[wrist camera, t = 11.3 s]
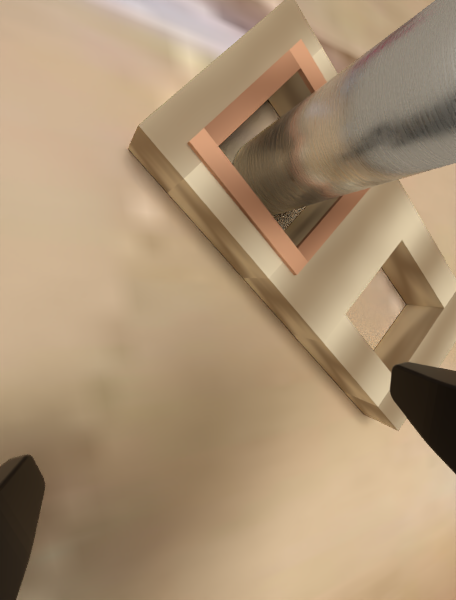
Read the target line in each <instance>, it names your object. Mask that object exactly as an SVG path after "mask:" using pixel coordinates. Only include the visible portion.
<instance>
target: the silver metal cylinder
mask: <svg viewBox="0 0 456 600" xmlns="http://www.w3.org/2000/svg"><path fill="white" fill-rule="evenodd" d="M453 163H456V0H435V1H434V2H433V3H431V4H430V5H429V6H427V7H426V8H425V9H423V10H422V11H421V12H419V13H418V14H417V15H416V16H414V17H413V18H412V19H410V20H409V21H408V22H406V23H405V24H404V25H402V26H401V27H400V28H398V29H397V30H396V31H394V32H393V33H392V34H390V35H389V36H388V37H386V38H385V39H384V40H382V41H381V42H380V43H378V44H377V45H376V46H374V47H373V48H372V49H370V50H369V51H368V52H366V53H365V54H364V55H362V56H361V57H360V58H358V59H357V60H356V61H355V62H353V63H352V64H351V65H349V66H348V67H347V68H345V69H344V70H343V71H341V72H340V73H339V74H337V75H336V76H335V77H333V78H332V79H331V80H329V81H328V82H327V83H325V84H324V85H323V86H321V87H320V88H319V89H317V90H316V91H315V92H313V93H312V94H311V95H309V96H308V97H307V98H305V99H304V100H303V101H301V102H300V103H299V104H297V105H296V106H295V107H293V108H292V109H291V110H290V111H288V112H287V113H286V114H284V115H283V116H282V117H280V118H279V119H278V120H276V121H275V122H274V123H272V124H271V125H270V126H268V127H267V128H266V129H264V130H263V131H262V132H260V133H259V134H258V135H256V136H255V137H254V138H252V139H251V140H250V141H248V142H247V143H246V144H244V145H243V146H242V147H241V148H240V150H239V151H238V153H237V154H236V157H235V159H234V162H233V166H234V167H235V168H236V170H237V171H238V172H239V174H240V175H241V176H242V178H243V179H244V180H245V181H246V183H247V184H248V185H249V187H250V188H251V189H252V190H253V192H254V193H255V194H256V196H257V197H258V198H259V199H260V201H261V202H262V203H263V205H264V206H265V207H266V208H267V210H268V211H269V212H270V214H271V215H272V216H273V215H277V214H280V213H284V212H287V211H291V210H294V209H298V208H301V207H305V206H308V205H312V204H315V203H319V202H322V201H325V200H329V199H332V198H336V197H339V196H343V195H346V194H350V193H353V192H357V191H360V190H363V189H367V188H370V187H374V186H377V185H381V184H384V183H388V182H391V181H395V180H398V179H401V178H405V177H408V176H412V175H415V174H419V173H422V172H426V171H429V170H433V169H436V168H439V167H443V166H446V165H450V164H453Z"/></svg>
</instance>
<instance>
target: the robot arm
mask: <svg viewBox="0 0 456 600" xmlns="http://www.w3.org/2000/svg"><path fill="white" fill-rule="evenodd" d="M390 394H391V397H392V399H393V401H394V402H395V403H396V405H397V406H398V407H399V408H400V410H401V411H402V412H403V414H404V415H405V416H406V417H407V419H408V420H409V421H410V423H411V424H412V425H413V426H414V428H415V429H416V430H417V432H418V433H419V434H420V435H421V437H422V438H423V439H424V440H425V441H426V443H427V444H428V445H429V446H430V447H431V448H432V449H433V451H434V452H435V453H436V454H437V455H438V456H439V457H440V458H441V459H442V460H443V461H444V462H445V463H446V464H447V465H448V466H449V467H450V469H451V470H452V471H453V472H454V473H455V474H456V371H453V370H448V369H443V368H438V367H433V366H427V365H422V364H417V363H412V362H404V363H400V364H396V365H394V366H393V367H392V371H391V382H390ZM44 491H45V482H44V478H43V476H42V474H41V472H40V470H39V468H38V466H37V464H36V462H35V460H34V459H33V457H32V456H31V455H23V456H19V457H14V458H11V459H9V460H8V461H7V462H5V463H4V464H3V465H1V466H0V600H16V598H17V595H18V592H19V589H20V586H21V583H22V580H23V577H24V574H25V571H26V568H27V564H28V561H29V558H30V554H31V550H32V546H33V542H34V537H35V532H36V528H37V523H38V519H39V514H40V509H41V505H42V500H43V496H44Z"/></svg>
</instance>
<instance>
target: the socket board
mask: <svg viewBox="0 0 456 600" xmlns="http://www.w3.org/2000/svg"><path fill="white" fill-rule="evenodd" d="M336 75H337V72H336V70H335V69H334V67H333V65H332V64H331V62H330V60H329V58H328V57H327V55H326V53H325V51H324V50H323V48H322V46H321V44H320V43H319V41H318V39H317V38H316V36H315V34H314V32H313V31H312V29H311V27H310V25H309V24H308V22H307V20H306V19H305V17H304V15H303V13H302V12H301V10H300V8H299V6H298V5H297V3H296V1H295V0H284V1H283V2H282V3H281V4H280V5H279V6H277V7H276V8H275V9H274V10H273V11H272V12H270V13H269V14H268V15H267V16H266V17H265V18H263V19H262V20H261V21H260V22H259V23H258V24H256V25H255V26H254V27H253V28H252V29H250V30H249V31H248V32H247V33H246V34H245V35H243V36H242V37H241V38H240V39H239V40H238V41H236V42H235V43H234V44H233V45H232V46H231V47H229V48H228V49H227V50H226V51H225V52H224V53H222V54H221V55H220V56H219V57H218V58H217V59H215V60H214V61H213V62H212V63H211V64H209V65H208V66H207V67H206V68H205V69H204V70H202V71H201V72H200V73H199V74H198V75H197V76H195V77H194V78H193V79H192V80H191V81H190V82H188V83H187V84H186V85H185V86H184V87H183V88H181V89H180V90H179V91H178V92H177V93H176V94H174V95H173V96H172V97H171V98H170V99H168V100H167V101H166V102H165V103H164V104H163V105H161V106H160V107H159V108H158V109H157V110H156V111H154V112H153V113H152V114H151V115H150V116H149V117H147V118H146V119H145V120H144V121H143V122H142V123H140V124H139V125H138V127H137V129H136V132H135V134H134V136H133V139H132V141H131V143H130V145H129V148H128V149H129V150H130V151H131V152H132V154H133V155H134V156H135V157H136V158H137V159H138V160H139V161H140V163H141V164H142V165H143V166H144V167H145V168H146V169H147V170H148V172H149V173H150V174H151V175H152V176H153V177H154V178H155V180H156V181H157V182H158V183H159V184H160V185H161V186H162V187H163V189H164V190H165V191H166V192H167V193H168V194H169V195H170V196H171V198H172V199H173V200H174V201H175V202H176V203H177V204H178V205H179V207H180V208H181V209H182V210H183V211H184V212H185V213H186V214H187V216H188V217H189V218H190V219H191V220H192V221H193V222H194V223H195V225H196V226H197V227H198V228H199V229H200V230H201V231H202V232H203V234H204V235H205V236H206V237H207V238H208V239H209V240H210V241H211V243H212V244H213V245H214V246H215V247H216V248H217V249H218V250H219V252H220V253H221V254H222V255H223V256H224V257H225V258H226V259H227V261H228V262H229V263H230V264H231V265H232V266H233V267H234V268H235V270H236V271H237V272H238V273H239V274H240V275H241V276H242V277H243V279H244V280H245V281H246V282H247V283H248V284H249V285H250V286H251V288H252V289H253V290H254V291H255V292H256V293H257V294H258V295H259V297H260V298H261V299H262V300H263V301H264V302H265V303H266V304H267V306H268V307H269V308H270V309H271V310H272V311H273V312H274V313H275V315H276V316H277V317H278V318H279V319H280V320H281V321H282V322H283V324H284V325H285V326H286V327H287V328H288V329H289V330H290V331H291V333H292V334H293V335H294V336H295V337H296V338H297V339H298V340H299V342H300V343H301V344H302V345H303V346H304V347H305V348H306V349H307V351H308V352H309V353H310V354H311V355H312V356H313V357H314V358H315V360H316V361H317V362H318V363H319V364H320V365H321V366H322V367H323V369H324V370H325V371H326V372H327V373H328V374H329V375H330V376H331V378H332V379H333V380H334V381H335V382H336V383H337V384H338V386H339V387H340V388H341V389H342V390H343V391H344V392H345V393H346V395H347V396H348V397H349V398H350V399H351V400H352V401H353V402H354V404H355V405H356V406H357V407H358V408H359V409H360V410H361V411H362V413H363V414H365V415H367V416H369V417H371V418H373V419H375V420H377V421H379V422H381V423H383V424H385V425H387V426H389V427H391V428H393V429H396V430H398V431H399V430H400V428H401V426H402V425H403V423H404V422H405V420H406V419H407V417H406V416H405V415H404V414H403V412H402V411H401V410H400V408H399V407H398V406H397V405H396V403H395V402H394V401H393V399H392V397H391V394H390V382H391V371H392V367H393V366H394V365H396V364H400V363H404V362H412V363H417V364H422V365H427V366H433V367H438V368H439V367H440V365H441V364H442V362H443V361H444V359H445V358H446V356H447V355H448V353H449V351H450V350H451V348H452V347H453V345H454V344H455V342H456V278H455V276H454V274H453V273H452V271H451V269H450V268H449V266H448V264H447V262H446V261H445V259H444V257H443V255H442V254H441V252H440V250H439V249H438V247H437V245H436V243H435V242H434V240H433V238H432V236H431V235H430V233H429V231H428V230H427V228H426V226H425V224H424V223H423V221H422V219H421V217H420V216H419V214H418V212H417V210H416V209H415V207H414V205H413V204H412V202H411V200H410V198H409V197H408V195H407V193H406V191H405V190H404V188H403V186H402V185H401V183H400V181H399V179H398V180H395V181H391V182H388V183H384V184H381V185H377V186H374V187H370V188H367V189H363V190H360V191H357V192H353V193H350V194H346V195H343V196H339V197H336V198H332V199H329V200H325V201H322V202H319V203H315V204H312V205H308V206H306V207H305V209H304V210H303V211H302V212H301V213H300V214H299V215H298V216H297V218H296V219H295V220H294V221H293V222H292V223H291V224H290V225H289V227H288V228H287V229H286V230H285V231H284V230H283V229H282V228H281V227H280V225H279V224H278V223H277V221H276V220H275V219H274V217H273V216H272V215H271V214H270V212H269V211H268V210H267V208H266V207H265V206H264V205H263V203H262V202H261V201H260V199H259V198H258V197H257V196H256V194H255V193H254V192H253V190H252V189H251V188H250V187H249V185H248V184H247V183H246V181H245V180H244V179H243V178H242V176H241V175H240V174H239V172H238V171H237V170H236V168H235V167H234V166H233V165H232V163H231V162H230V161H229V159H228V158H227V157H226V156H225V154H224V153H223V152H222V150H221V149H220V148H219V147H218V146H219V145H220V144H221V143H222V142H223V141H224V140H225V139H226V138H227V137H229V136H230V135H231V134H232V133H233V132H234V131H235V130H236V129H237V128H238V127H239V126H240V125H241V124H242V123H243V122H244V121H245V120H246V119H247V118H249V117H250V116H251V115H252V114H253V113H254V112H255V111H256V110H257V109H258V108H259V107H260V106H261V105H262V104H263V103H264V102H265V101H266V100H267V99H268V100H269V101H270V103H271V104H272V106H273V107H274V109H275V110H276V112H277V113H278V115H279V116H280V117H282V116H283V115H284V114H286V113H287V112H288V111H290V110H291V109H292V108H293V107H295V106H296V105H297V104H299V103H300V102H301V101H303V100H304V99H305V98H307V97H308V96H309V95H311V94H312V93H313V92H315V91H316V90H317V89H319V88H320V87H321V86H323V85H324V84H325V83H327V82H328V81H329V80H331V79H332V78H333V77H335V76H336ZM381 267H382V269H383V270H384V272H385V273H386V275H387V276H388V278H389V279H390V281H391V282H392V283H393V285H394V286H395V288H396V289H397V291H398V292H399V294H400V295H401V297H402V298H403V300H404V301H405V303H406V304H407V305H406V306H405V307H404V309H403V310H402V312H401V313H400V315H399V316H398V317H397V319H396V320H395V322H394V323H393V324H392V326H391V327H390V329H389V330H388V331H387V333H386V334H385V336H384V337H383V338H382V340H381V341H380V343H379V344H378V345H377V347H376V348H375V350H373V349H372V348H371V347H370V345H369V344H368V343H367V341H366V340H365V339H364V338H363V336H362V335H361V334H360V333H359V331H358V330H357V329H356V327H355V326H354V325H353V324H352V322H351V321H350V320H349V318H348V317H347V316H346V315H345V314H346V313H347V311H348V310H349V309H350V307H351V306H352V305H353V303H354V302H355V301H356V299H357V298H358V297H359V296H360V294H361V293H362V292H363V290H364V289H365V288H366V286H367V285H368V284H369V282H370V281H371V280H372V279H373V277H374V276H375V275H376V273H377V272H378V271H379V269H380V268H381Z"/></svg>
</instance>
